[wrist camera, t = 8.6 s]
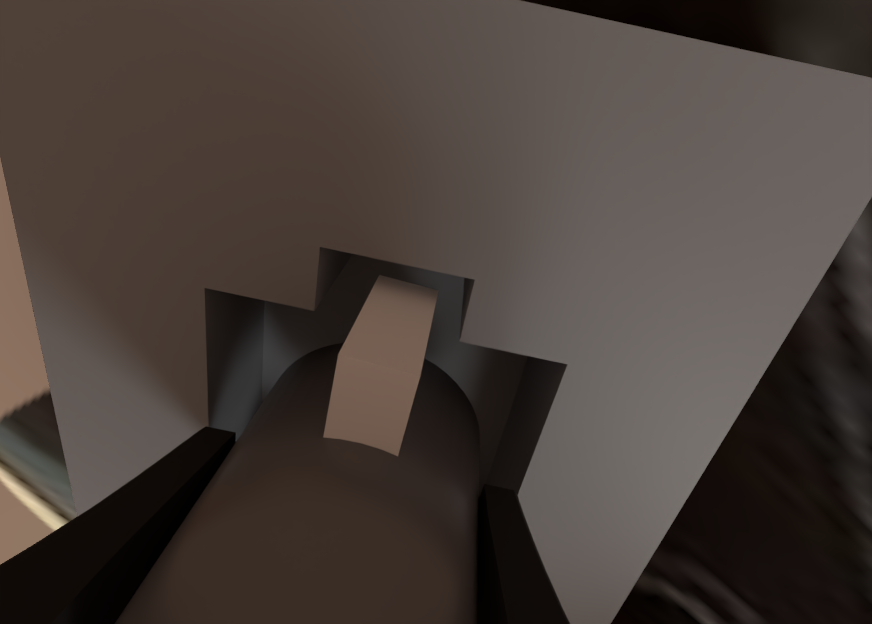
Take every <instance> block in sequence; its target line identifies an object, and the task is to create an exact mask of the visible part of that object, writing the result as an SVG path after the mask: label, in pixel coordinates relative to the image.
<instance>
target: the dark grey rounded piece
mask: <svg viewBox="0 0 872 624" xmlns="http://www.w3.org/2000/svg"><path fill="white" fill-rule="evenodd" d="M437 295H438V290H435V289H431V288H427V287H423V286H419V285H416V284H412V283H408V282H404V281H400V280H397V279H393V278H389V277H385V276H382V275H379V277H378V278H377V280H376V282H375V284H374V286H373V288H372V290H371V292H370V294H369V296H368V298H367V300H366V302H365V304H364V306H363V307H362V309H361V311H360V313H359V315H358V317H357V319H356V321H355V323H354V325H353V327H352V329H351V331H350V333H349V335H348V336H347V338H346V340H345V342H344V343H339V344H333V345H329V346H326V347H322V348H319V349H317V350H315V351H312V352H310V353H308V354H306V355H304V356H303V357H301V358H300V359H298V360H296V361H295V362H294V363H293V364H292V365H291V366H289V367H288V368H287V369H286V370H285V372H284V373H283V374H282V375H281V376H280V377H279V379H278V380H277V382H276V383H275V385H274V386H273V388H272V389H271V391H270V392H269V394H268V395H267V397H266V398H265V400H264V401H263V403H262V404H261V406H260V407H259V409H258V410H257V412H256V413H255V415H254V416H253V418H252V419H251V421H250V422H249V424H248V425H247V427H246V428H245V430H244V431H243V433H242V434H241V436H240V437H239V439H238V440H237V442H236V443H235V445H234V446H233V448H232V449H231V451H230V452H229V454H228V455H227V457H226V458H225V460H224V461H223V463H222V464H221V466H220V467H219V468H218V470H217V471H216V473H215V474H214V476H213V477H212V479H211V480H210V482H209V483H208V485H207V486H206V488H205V489H204V491H203V492H202V494H201V495H200V497H199V498H198V500H197V501H196V503H195V504H194V506H193V507H192V509H191V510H190V512H189V513H188V515H187V516H186V518H185V519H184V521H183V522H182V524H181V525H180V527H179V528H178V530H177V531H176V533H175V534H174V536H173V537H172V539H171V540H170V542H169V543H168V545H167V546H166V548H165V549H164V551H163V552H162V554H161V555H160V557H159V558H158V560H157V561H156V563H155V564H154V566H153V567H152V568H151V570H150V571H149V573H148V574H147V576H146V577H145V579H144V580H143V582H142V583H141V585H140V586H139V588H138V589H137V591H136V592H135V594H134V595H133V597H132V598H131V600H130V601H129V603H128V604H127V606H126V607H125V609H124V610H123V612H122V613H121V615H120V616H119V618H118V619H117V621H116V622H115V624H477V598H478V528H479V458H480V435H479V426H478V421H477V417H476V414H475V412H474V409H473V407H472V405H471V403H470V401H469V399H468V398H467V396H466V394H465V393H464V392H463V390H462V389H461V388H460V386H459V385H458V384H457V383H456V382H455V381H454V380H453V379H452V378H451V377H450V376H449V375H448V374H447V373H446V372H444V371H443V370H442V369H440V368H439V367H438V366H437V365H435V364H433V363H432V362H430V361H428V360H427V359H425V358H424V356H425V352H426V347H427V342H428V338H429V333H430V328H431V323H432V319H433V314H434V309H435V305H436V300H437Z"/></svg>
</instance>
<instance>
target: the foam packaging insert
mask: <svg viewBox="0 0 872 624" xmlns="http://www.w3.org/2000/svg"><path fill="white" fill-rule="evenodd" d="M0 157H1V162H2V167H3V172H4V176H5V180H6V186H7V190H8V195H9V200H10V204H11V209H12V213H13V218H14V223H15V228H16V232H17V237H18V242H19V246H20V251H21V256H22V260H23V265H24V269H25V274H26V279H27V284H28V288H29V293H30V297H31V302H32V307H33V312H34V316H35V321H36V326H37V330H38V335H39V340H40V344H41V349H42V354H43V358H44V362H45V368H46V372H47V377H48V382H49V386H50V391H51V396H52V400H53V405H54V410H55V414H56V419H57V424H58V428H59V433H60V438H61V442H62V447H63V452H64V456H65V461H66V466H67V470H68V475H69V480H70V484H71V489H72V494H73V498H74V503H75V508H76V512H77V517H78V516H79V515H81V514H82V513H84V512H85V511H87V510H88V509H90V508H91V507H93V506H94V505H96V504H97V503H99V502H100V501H102V500H103V499H104V498H106V497H107V496H109V495H110V494H112V493H113V492H115V491H116V490H117V489H119V488H120V487H122V486H123V485H125V484H126V483H127V482H129V481H130V480H132V479H133V478H135V477H136V476H138V475H139V474H140V473H142V472H143V471H144V470H146V469H147V468H149V467H150V466H151V465H153V464H154V463H156V462H157V461H158V460H160V459H161V458H162V457H164V456H165V455H166V454H168V453H169V452H171V451H172V450H173V449H175V448H176V447H177V446H179V445H180V444H181V443H183V442H184V441H185V440H187V439H188V438H189V437H191V436H192V435H194V434H195V433H196V432H198V431H199V430H201V429H202V428H204V427H206V426H207V427H212V428H216V429H221V430H226V431H231V432H236V442H237V440H238V439H239V437H240V436H241V434H242V433H243V431H244V430H245V428H246V427H247V425H248V424H249V422H250V421H251V419H252V418H253V416H254V415H255V413H256V412H257V410H258V409H259V407H260V406H261V404H262V403H263V401H264V400H265V398H266V397H267V395H268V394H269V392H270V391H271V389H272V388H273V386H274V385H275V383H276V382H277V380H278V379H279V377H280V376H281V375H282V374H283V373H284V372H285V370H286V369H287V368H288V367H289V366H291V365H292V364H293V363H294V362H295V361H296V360H298V359H300V358H301V357H303V356H304V355H306V354H308V353H310V352H312V351H315V350H317V349H319V348H322V347H326V346H329V345H333V344H339V343H344V342H345V340H346V338H347V336H348V335H349V333H350V331H351V329H352V327H353V325H354V323H355V321H356V319H357V317H358V315H359V313H360V311H361V309H362V307H363V306H364V304H365V302H366V300H367V298H368V296H369V294H370V292H371V290H372V288H373V286H374V284H375V282H376V280H377V278H378V277H379V275H382V276H385V277H389V278H393V279H397V280H400V281H404V282H408V283H412V284H416V285H419V286H423V287H427V288H431V289H435V290H438V295H437V300H436V305H435V309H434V314H433V319H432V323H431V328H430V333H429V338H428V342H427V347H426V352H425V356H424V358H425V359H427V360H428V361H430V362H432V363H433V364H435V365H437V366H438V367H439V368H440V369H442V370H443V371H444V372H446V373H447V374H448V375H449V376H450V377H451V378H452V379H453V380H454V381H455V382H456V383H457V384H458V385H459V386H460V388H461V389H462V390H463V392H464V393H465V394H466V396H467V398H468V399H469V401H470V403H471V405H472V407H473V409H474V412H475V414H476V417H477V421H478V426H479V435H480V458H479V498H480V495H481V492H482V489H483V486H484V484H487V485H492V486H497V487H502V488H507V489H511V490H514V491H515V492H516V494H517V496H518V499H519V502H520V505H521V507H522V510H523V513H524V516H525V519H526V521H527V524H528V527H529V530H530V532H531V535H532V537H533V540H534V542H535V545H536V547H537V550H538V553H539V555H540V558H541V560H542V562H543V565H544V567H545V569H546V572H547V574H548V576H549V579H550V581H551V583H552V585H553V588H554V590H555V592H556V594H557V597H558V599H559V601H560V603H561V606H562V608H563V610H564V612H565V614H566V616H567V618H568V620H569V623H570V624H611V622H612V621H613V619H614V617H615V616H616V614H617V613H618V611H619V609H620V608H621V606H622V604H623V603H624V601H625V600H626V598H627V596H628V595H629V593H630V591H631V590H632V588H633V586H634V585H635V583H636V582H637V580H638V578H639V577H640V575H641V573H642V572H643V570H644V568H645V567H646V565H647V564H648V562H649V560H650V559H651V557H652V555H653V554H654V552H655V550H656V549H657V547H658V546H659V544H660V542H661V541H662V539H663V537H664V536H665V534H666V532H667V531H668V529H669V528H670V526H671V524H672V523H673V521H674V519H675V518H676V516H677V514H678V513H679V511H680V510H681V508H682V506H683V505H684V503H685V501H686V500H687V498H688V496H689V495H690V493H691V492H692V490H693V488H694V487H695V485H696V483H697V482H698V480H699V478H700V477H701V475H702V474H703V472H704V470H705V469H706V467H707V465H708V464H709V462H710V460H711V459H712V457H713V456H714V454H715V452H716V451H717V449H718V447H719V446H720V444H721V442H722V441H723V439H724V438H725V436H726V434H727V433H728V431H729V429H730V428H731V426H732V425H733V423H734V421H735V420H736V418H737V416H738V415H739V413H740V411H741V410H742V408H743V407H744V405H745V403H746V402H747V400H748V398H749V397H750V395H751V393H752V392H753V390H754V389H755V387H756V385H757V384H758V382H759V380H760V379H761V377H762V375H763V374H764V372H765V371H766V369H767V367H768V366H769V364H770V362H771V361H772V359H773V357H774V356H775V354H776V353H777V351H778V349H779V348H780V346H781V344H782V343H783V341H784V339H785V338H786V336H787V335H788V333H789V331H790V330H791V328H792V326H793V325H794V323H795V321H796V320H797V318H798V317H799V315H800V313H801V312H802V310H803V308H804V307H805V305H806V303H807V302H808V300H809V299H810V297H811V295H812V294H813V292H814V290H815V289H816V287H817V285H818V284H819V282H820V281H821V279H822V277H823V276H824V274H825V272H826V271H827V269H828V267H829V266H830V264H831V263H832V261H833V259H834V258H835V256H836V254H837V253H838V251H839V250H840V248H841V246H842V245H843V243H844V241H845V240H846V238H847V236H848V235H849V233H850V232H851V230H852V228H853V227H854V225H855V223H856V222H857V220H858V218H859V217H860V215H861V214H862V212H863V210H864V209H865V207H866V205H867V204H868V202H869V200H870V199H871V197H872V78H870V77H865V76H861V75H856V74H852V73H847V72H843V71H838V70H833V69H829V68H824V67H820V66H815V65H811V64H806V63H802V62H797V61H793V60H788V59H784V58H779V57H775V56H770V55H766V54H761V53H756V52H752V51H747V50H743V49H738V48H734V47H729V46H725V45H720V44H716V43H711V42H707V41H702V40H698V39H693V38H689V37H684V36H679V35H675V34H670V33H666V32H661V31H657V30H652V29H648V28H643V27H639V26H634V25H630V24H625V23H621V22H616V21H611V20H607V19H602V18H598V17H593V16H589V15H584V14H580V13H575V12H571V11H566V10H562V9H557V8H553V7H548V6H544V5H539V4H534V3H530V2H525V1H521V0H0Z"/></svg>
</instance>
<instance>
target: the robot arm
mask: <svg viewBox="0 0 872 624" xmlns="http://www.w3.org/2000/svg"><path fill="white" fill-rule="evenodd" d="M235 443H236V432H231V431H226V430H221V429H216V428H212V427H207V426H206V427H204V428H202V429H201V430H199V431H198V432H196V433H195V434H194V435H192V436H191V437H189V438H188V439H187V440H185V441H184V442H183V443H181V444H180V445H179V446H177V447H176V448H175V449H173V450H172V451H171V452H169V453H168V454H166V455H165V456H164V457H162V458H161V459H160V460H158V461H157V462H156V463H154V464H153V465H151V466H150V467H149V468H147V469H146V470H144V471H143V472H142V473H140V474H139V475H138V476H136V477H135V478H133V479H132V480H130V481H129V482H127V483H126V484H125V485H123V486H122V487H120V488H119V489H117V490H116V491H115V492H113V493H112V494H110V495H109V496H107V497H106V498H104V499H103V500H102V501H100V502H99V503H97V504H96V505H94V506H93V507H91V508H90V509H88V510H87V511H85V512H84V513H82V514H81V515H79V516H78V517H76V518H74V519H73V520H71V521H70V522H68V523H67V524H65V525H64V526H62V527H60V528H59V529H57V530H56V531H54V532H53V533H51V534H50V535H48V536H46V537H45V538H43V539H42V540H40V541H39V542H37V543H36V544H34V545H32V546H31V547H29V548H27V549H26V550H24V551H22V552H21V553H19V554H17V555H16V556H14V557H13V558H11V559H9V560H7V561H6V562H4V563H2V564H1V565H0V624H115V622H116V621H117V619H118V618H119V616H120V615H121V613H122V612H123V610H124V609H125V607H126V606H127V604H128V603H129V601H130V600H131V598H132V597H133V595H134V594H135V592H136V591H137V589H138V588H139V586H140V585H141V583H142V582H143V580H144V579H145V577H146V576H147V574H148V573H149V571H150V570H151V568H152V567H153V566H154V564H155V563H156V561H157V560H158V558H159V557H160V555H161V554H162V552H163V551H164V549H165V548H166V546H167V545H168V543H169V542H170V540H171V539H172V537H173V536H174V534H175V533H176V531H177V530H178V528H179V527H180V525H181V524H182V522H183V521H184V519H185V518H186V516H187V515H188V513H189V512H190V510H191V509H192V507H193V506H194V504H195V503H196V501H197V500H198V498H199V497H200V495H201V494H202V492H203V491H204V489H205V488H206V486H207V485H208V483H209V482H210V480H211V479H212V477H213V476H214V474H215V473H216V471H217V470H218V468H219V467H220V466H221V464H222V463H223V461H224V460H225V458H226V457H227V455H228V454H229V452H230V451H231V449H232V448H233V446H234V445H235ZM477 624H570V623H569V620H568V618H567V616H566V614H565V612H564V610H563V608H562V606H561V603H560V601H559V599H558V597H557V594H556V592H555V590H554V588H553V585H552V583H551V581H550V579H549V576H548V574H547V572H546V569H545V567H544V565H543V562H542V560H541V558H540V555H539V553H538V550H537V547H536V545H535V542H534V540H533V537H532V535H531V532H530V530H529V527H528V524H527V521H526V519H525V516H524V513H523V510H522V507H521V505H520V502H519V499H518V496H517V494H516V492H515V491H514V490H511V489H507V488H502V487H497V486H492V485H487V484H484V486H483V489H482V492H481V495H480V498H479V528H478V598H477Z"/></svg>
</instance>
